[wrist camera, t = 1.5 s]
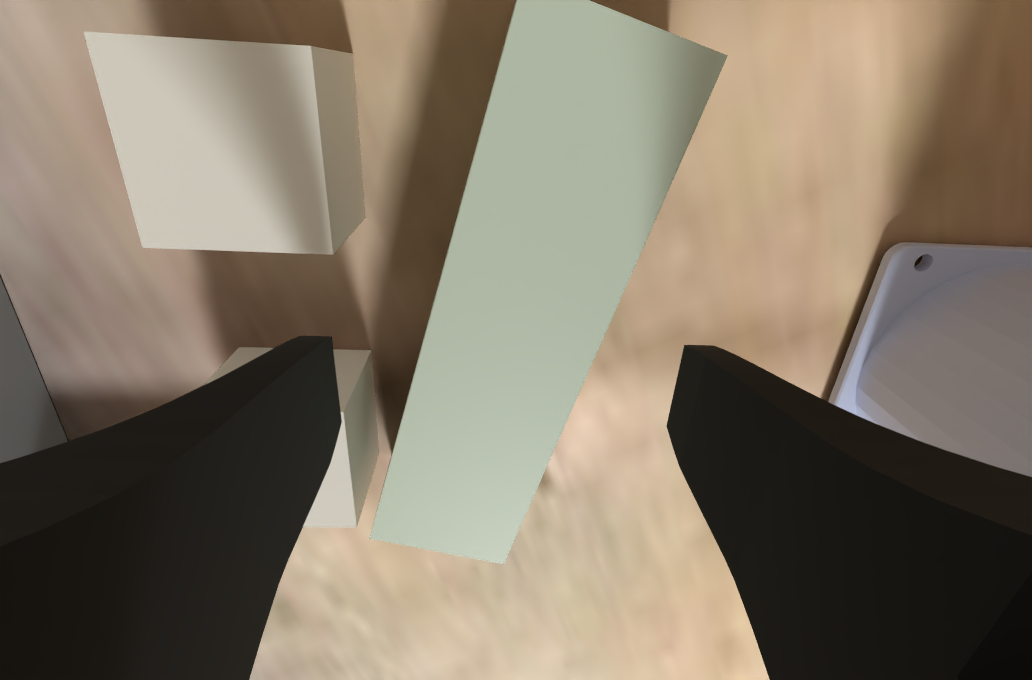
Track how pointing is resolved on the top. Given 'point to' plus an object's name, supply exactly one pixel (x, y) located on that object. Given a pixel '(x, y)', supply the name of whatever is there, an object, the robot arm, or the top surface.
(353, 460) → the block
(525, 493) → the sage green beam
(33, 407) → the grey frame
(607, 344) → the top surface
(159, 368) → the top surface
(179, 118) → the block
